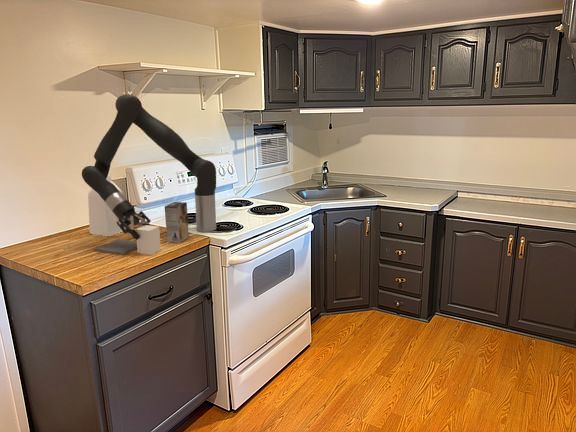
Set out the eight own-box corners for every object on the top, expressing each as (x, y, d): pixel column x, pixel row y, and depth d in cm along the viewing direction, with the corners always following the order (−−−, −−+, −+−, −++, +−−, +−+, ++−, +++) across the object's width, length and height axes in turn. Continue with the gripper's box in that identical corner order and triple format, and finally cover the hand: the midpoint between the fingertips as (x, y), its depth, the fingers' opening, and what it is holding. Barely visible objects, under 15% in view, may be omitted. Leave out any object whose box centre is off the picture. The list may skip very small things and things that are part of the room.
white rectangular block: (137, 253, 176) (135, 229, 174) (147, 248, 182) (145, 225, 180) (151, 255, 174) (149, 230, 172) (160, 250, 180) (159, 226, 178)
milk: (110, 227, 214) (104, 174, 208) (128, 230, 209) (123, 175, 203) (89, 233, 203) (83, 177, 197) (108, 236, 199) (102, 179, 192)
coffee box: (175, 236, 200) (173, 201, 196) (189, 237, 198) (187, 202, 194) (166, 242, 191) (164, 206, 187) (180, 243, 190) (178, 206, 186)
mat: (94, 251, 179) (94, 248, 179) (118, 241, 192) (118, 239, 192) (122, 255, 174) (122, 252, 174) (145, 244, 187) (145, 242, 187)
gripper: (112, 203, 170) (138, 234, 169) (136, 196, 183) (161, 225, 182) (102, 215, 173) (128, 246, 172) (127, 207, 186) (151, 236, 185)
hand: (145, 235), depth 177 cm, fingers open, 8 cm apart
